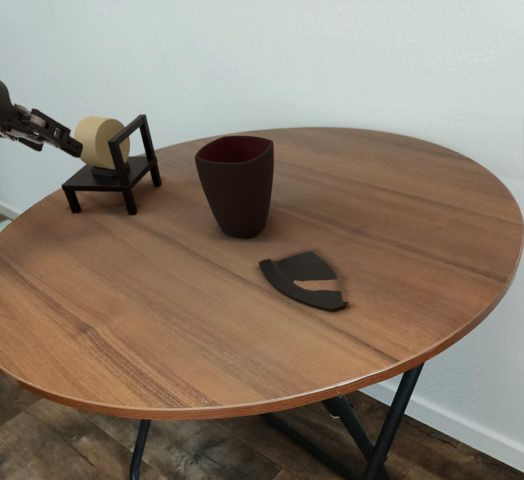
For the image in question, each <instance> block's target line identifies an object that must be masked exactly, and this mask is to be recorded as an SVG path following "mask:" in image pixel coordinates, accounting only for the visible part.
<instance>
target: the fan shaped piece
mask: <svg viewBox="0 0 524 480" xmlns="http://www.w3.org/2000/svg"><path fill="white" fill-rule="evenodd" d="M258 265H259V268H260V270H261V273H262V275H263V276H264V278H265V279H266V281H267V282H268V283H269V284H270V286H272V287H273V288H274V289H275V290H276V291H278V292H280V294H282V295H284V296H285V297H287V298H288V299H291V300H293V301H294V302H296V303H299V304H302V305H304V306H307V307H310V308H314V309H317V310H320V311H326V312H328V313H329V312H331V313H337V312H339V311H342V310H346V307H347V305H348V304H350V301H343V297H342V292H341V291H340V290H331V289H318V290H313V289H308V288H303V287H301V286H299V285H297V284H295V281H298V282H313V281H315V282H316V281H334V280H335V281H336V280H338V276H337V274H336V272H334V270H333V269H332V268H331V267H330V266H329V264H328V262H326V261H325V260H324V259H323V258H321V257H319V255H317V254H316V253H315V252H313V251H305V252H302V253H297V254H294V255H292V256H289V257H284V258H282V259H280V260H273V259H271V258H266V259H262V260H260V261H259V262H258Z"/></svg>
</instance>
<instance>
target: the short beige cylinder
mask: <svg viewBox="0 0 524 480" xmlns="http://www.w3.org/2000/svg"><path fill="white" fill-rule="evenodd" d="M125 127H126V126H125V125H124V124H123V123H122V122H121V121H120V120H118V119H116V118H110V117H101V116H93V115H92V116H91V115H87V116H85V117H83V118H82V119H80V120H79V122H78V123H77V125H76V126H75V129H74V132H73V138H74V139H75V140H77V141H79V142H80V143H82V144H83V150H82V153H81V156H80V158H79V160H80V161H81V162H83V163H84V164H85V165H86V164H87V165H90V166H93V167H91V168H90V170H91V173H92V174H96V175H102V176H107V177H114V176H115V175H117V173H116V170H115V166H114V163H113V159H112V156H111V153H110V149H109V146H108V142H107V141H109V140H110V139H111V138H113V137H114V136H115V135H116V134H117V133H119V132H120V131H121V130H122V129H123V128H125ZM119 146H120V149H121V153H122V157H123V160H124V164H125V167H126V169H127V168H129V167H130V166H129V162H128V161H126V160H127V158H128V156H130V152H131V139H130V136H129V137H127V138H126V139H125V140H124V141H123V142H122V143H120V144H119Z"/></svg>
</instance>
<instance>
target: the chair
mask: <svg viewBox="0 0 524 480" xmlns="http://www.w3.org/2000/svg"><path fill="white" fill-rule="evenodd" d="M138 129H139V133H140V136H141V141H142V145H143V148H144V153H145V156H144V155H143V156H141V155H138V156H137V155H136V156H135V155H134V156H133V155H129V156H128V158H127V160H126V161H128V162H129V166H130V167H129V168H127V169H126V167H125V164H124V160H123V157H122V153H121V149H120V146H119V144H120V143H122V142H123V141H124V140H125V139H126V138H127V137H129V138H130V136H131V135H132V134H133V133H134V132H135V131H137V130H138ZM107 142H108V146H109V149H110V153H111V156H112V159H113V163H114V166H115V170H116V173H117V175H115V176H114V177H107V176H102V175H96V174H92V173H91V170H90V168H91V167H93V166H90V165H87V164H85V165H84V166H82V167H81V168H80V169H78V171H76V172H75V173H74V174H73V175H71V177H69V178H68V179H67V180H66V181H64V182H63V183H62V184H61V185H60V186H61V189H62V191H63V193H64V195H65V198H66V201H67V203H68V206H69V209H70V211H71V214H79V213H80V212H82V207H81V203H80V202H79V199H78V196H77V193H76V192H92V193H93V192H96V193H97V192H99V193H100V192H101V193H122V198H123V200H124V204H125V207H126V210H127V211H126V212H127V214H128V215H129V216H136V214H137V213H138V212H139V211H138V207H137V203H136V200H135V196H134V192H133V190H132V189H134V187H135V186H136V185H137V184H138V183H139V182H140V181H141V180H142V179H143V178H144V177H145V176H146V175H147V174H148V173H150V177H151V182H152V185H153V187H156V188H159V187H161V186H162V185H163V181H162V177H161V173H160V168H159V165H158V164H159V163H158V158H157V156H156V152H155V148H154V143H153V139H152V135H151V130H150V126H149V123H148V118H147V114H145V113H144V114H140V113H139V114H138V115H137V116H136V118H134V119H133V120H132V121H131V122H129V123H128V124H127V125H126V126H125V128H123V129H122V130H121V131H120V132H119V133H117V134H116V135H115V136H114V137H113V138H111V139H110V140H109V141H107Z"/></svg>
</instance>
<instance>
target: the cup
mask: <svg viewBox="0 0 524 480" xmlns="http://www.w3.org/2000/svg"><path fill="white" fill-rule="evenodd" d="M194 163H195V166H196V171H197V172H196V173H197V175H198V178H199V182H200V185H201V187H202V190H203V193H204V196H205V199H206V200H207V204H208V206H209V208H210V211H211V213H212V215H213V217H214V219H215V221H216V223H217V224H218V227H219V228H220V230H221V232H222V233H223V234H225V235H226V236H229V237H232V238H233V237H234V238H238V239H252V238H254V237H256V236H257V235H258V234H260V233H261V232H262V231H263V230H264V229H265V227H266V225H267V221H268V217H269V213H270V208H271V202H272V201H271V200H272V192H273V191H272V190H273V184H274V183H273V182H274V173H275V171H274V170H275V145H274V141H273V140H272V139H269V138H265V137H262V136H253V135H224V136H221V137H218V138H216V139H214V140H212V141H210V142H208V143H207V144H205V145H203V146H201V148H199V150H198V151H197V152H196V153H195V155H194Z"/></svg>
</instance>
